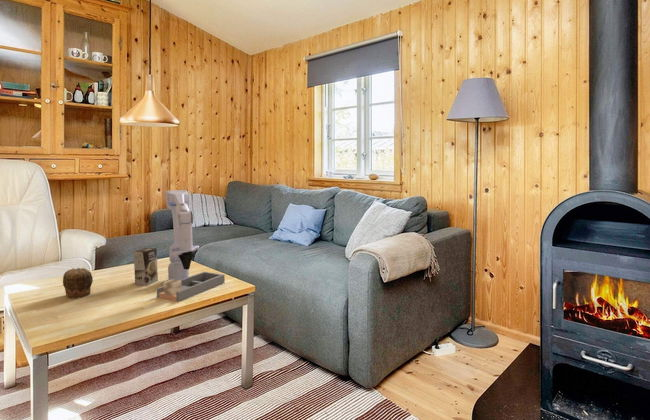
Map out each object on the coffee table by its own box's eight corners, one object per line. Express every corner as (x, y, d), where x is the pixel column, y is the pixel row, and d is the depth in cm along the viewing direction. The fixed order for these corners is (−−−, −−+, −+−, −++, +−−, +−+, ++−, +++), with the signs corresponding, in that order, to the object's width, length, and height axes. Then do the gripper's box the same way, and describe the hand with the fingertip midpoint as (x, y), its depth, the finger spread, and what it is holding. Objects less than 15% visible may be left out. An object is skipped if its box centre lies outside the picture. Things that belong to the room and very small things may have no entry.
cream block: (163, 293, 172) (163, 282, 171) (172, 290, 176) (172, 279, 175) (172, 295, 169) (172, 284, 169) (181, 292, 174) (181, 280, 173)
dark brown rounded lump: (62, 301, 167) (60, 273, 166) (65, 293, 177) (63, 266, 176) (93, 297, 172) (91, 270, 171) (94, 290, 182) (92, 264, 181)
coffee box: (146, 286, 188) (145, 252, 186) (134, 285, 190) (132, 251, 188) (158, 280, 197) (157, 247, 195) (146, 279, 199) (145, 247, 197)
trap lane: (157, 297, 173) (156, 288, 173) (204, 279, 199) (204, 271, 199) (178, 301, 168) (178, 292, 167) (224, 282, 194) (224, 274, 194)
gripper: (179, 242, 170) (181, 274, 171) (204, 236, 183) (205, 266, 184) (167, 241, 173) (168, 272, 174) (192, 235, 186) (193, 264, 187)
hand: (186, 269), depth 180 cm, fingers closed
